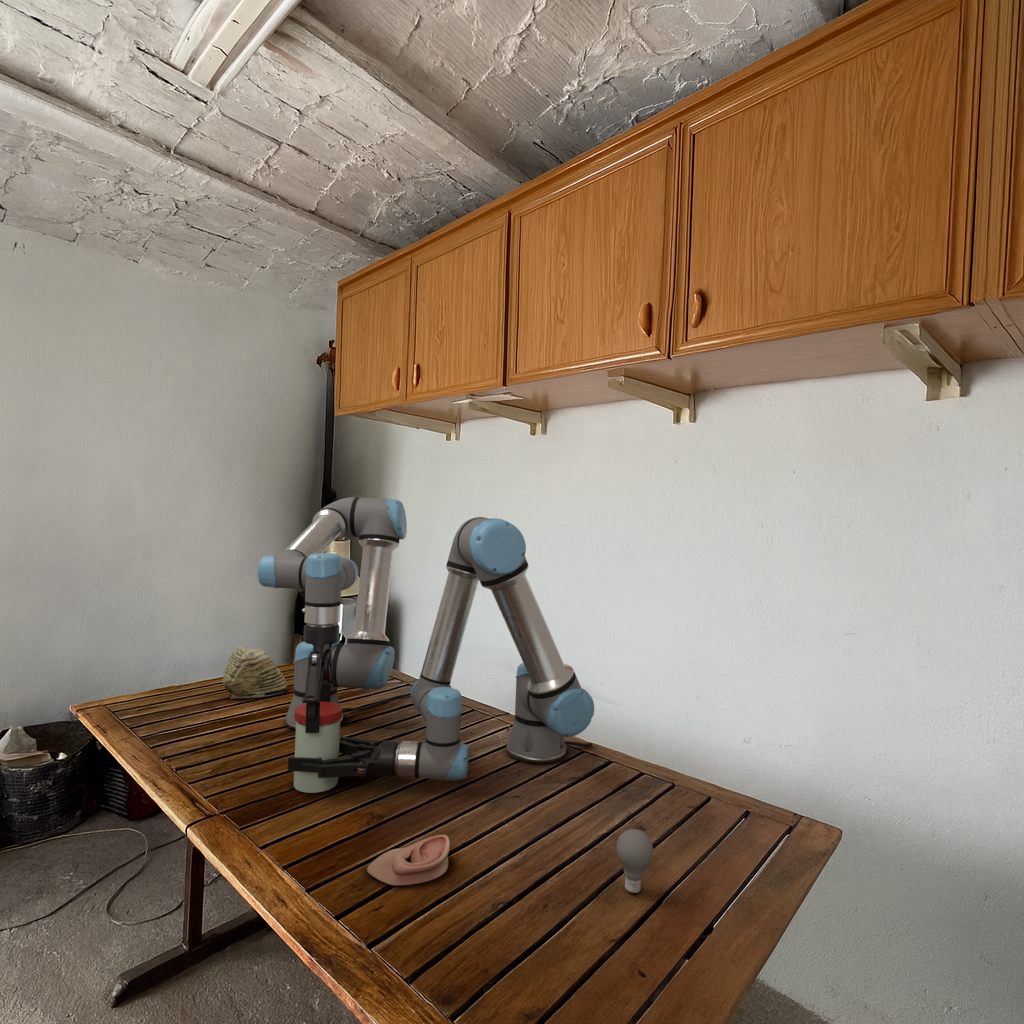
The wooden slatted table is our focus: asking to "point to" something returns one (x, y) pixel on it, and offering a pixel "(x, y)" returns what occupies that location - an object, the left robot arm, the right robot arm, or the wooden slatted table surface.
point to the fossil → (252, 674)
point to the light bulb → (634, 857)
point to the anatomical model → (412, 862)
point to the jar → (316, 755)
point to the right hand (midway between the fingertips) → (297, 754)
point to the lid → (321, 713)
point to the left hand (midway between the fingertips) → (318, 722)
